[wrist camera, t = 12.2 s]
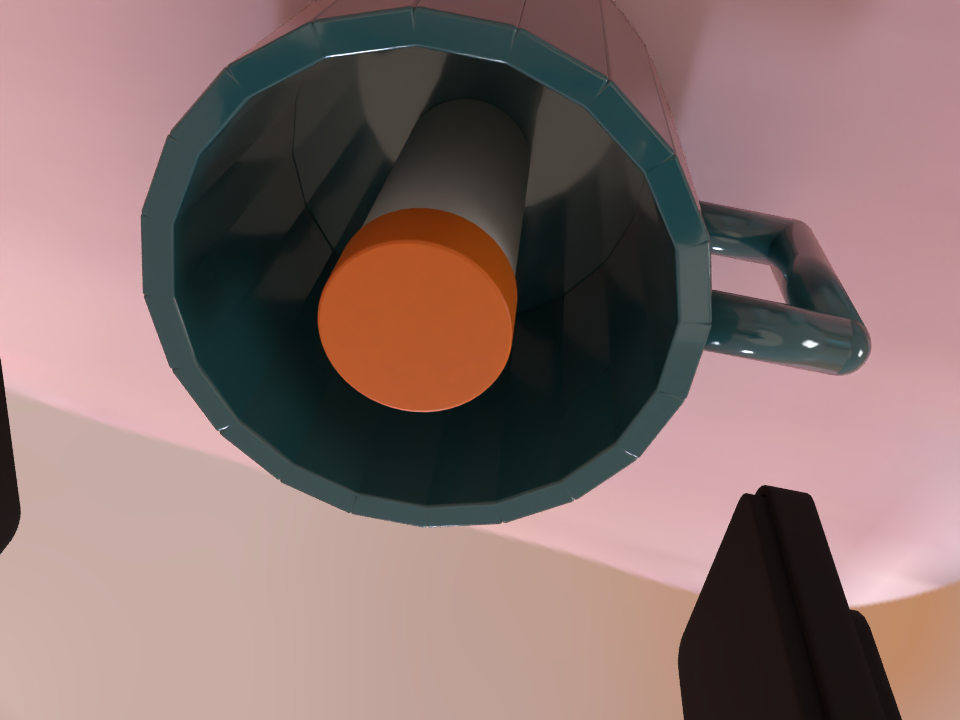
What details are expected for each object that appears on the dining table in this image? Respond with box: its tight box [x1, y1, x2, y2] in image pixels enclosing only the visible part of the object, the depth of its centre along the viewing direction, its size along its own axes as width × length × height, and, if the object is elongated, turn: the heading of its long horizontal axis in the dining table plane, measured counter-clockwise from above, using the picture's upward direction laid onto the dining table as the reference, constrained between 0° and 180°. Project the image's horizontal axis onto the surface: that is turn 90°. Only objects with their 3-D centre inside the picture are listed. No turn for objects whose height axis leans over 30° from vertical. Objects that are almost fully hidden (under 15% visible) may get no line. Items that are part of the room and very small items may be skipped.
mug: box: [141, 0, 871, 528], centre depth 20 cm, size 14×10×9 cm
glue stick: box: [318, 99, 530, 412], centre depth 20 cm, size 3×3×9 cm
